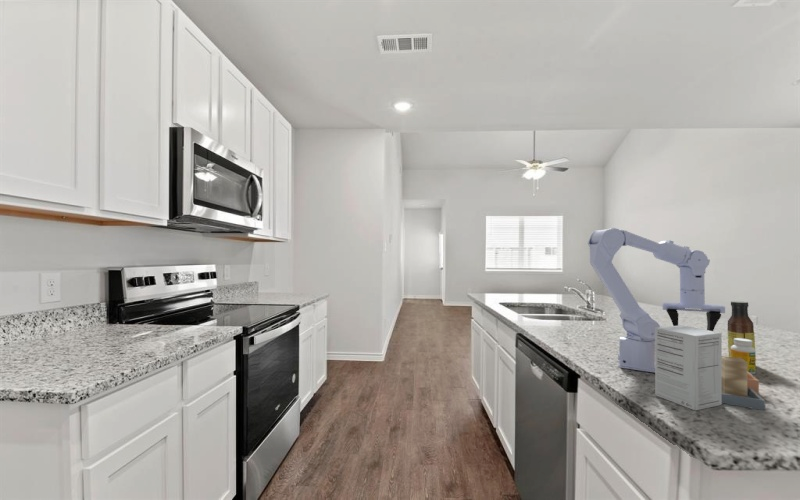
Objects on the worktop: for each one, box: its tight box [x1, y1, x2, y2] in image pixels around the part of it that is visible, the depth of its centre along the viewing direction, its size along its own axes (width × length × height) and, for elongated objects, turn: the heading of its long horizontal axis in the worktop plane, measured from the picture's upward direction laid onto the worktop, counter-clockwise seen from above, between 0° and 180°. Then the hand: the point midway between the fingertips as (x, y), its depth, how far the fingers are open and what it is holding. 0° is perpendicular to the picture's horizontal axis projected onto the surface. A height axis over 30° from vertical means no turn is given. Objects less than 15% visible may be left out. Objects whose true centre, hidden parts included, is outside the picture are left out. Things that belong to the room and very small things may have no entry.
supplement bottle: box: [731, 338, 757, 375], centre depth 106 cm, size 5×5×10 cm
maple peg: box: [721, 355, 747, 397], centre depth 86 cm, size 4×4×9 cm
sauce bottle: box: [727, 300, 756, 357], centre depth 113 cm, size 7×6×20 cm
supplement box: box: [654, 324, 723, 412], centre depth 85 cm, size 10×9×17 cm
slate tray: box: [722, 388, 766, 411], centre depth 85 cm, size 9×9×2 cm
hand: (692, 335), depth 107 cm, fingers open, 7 cm apart
